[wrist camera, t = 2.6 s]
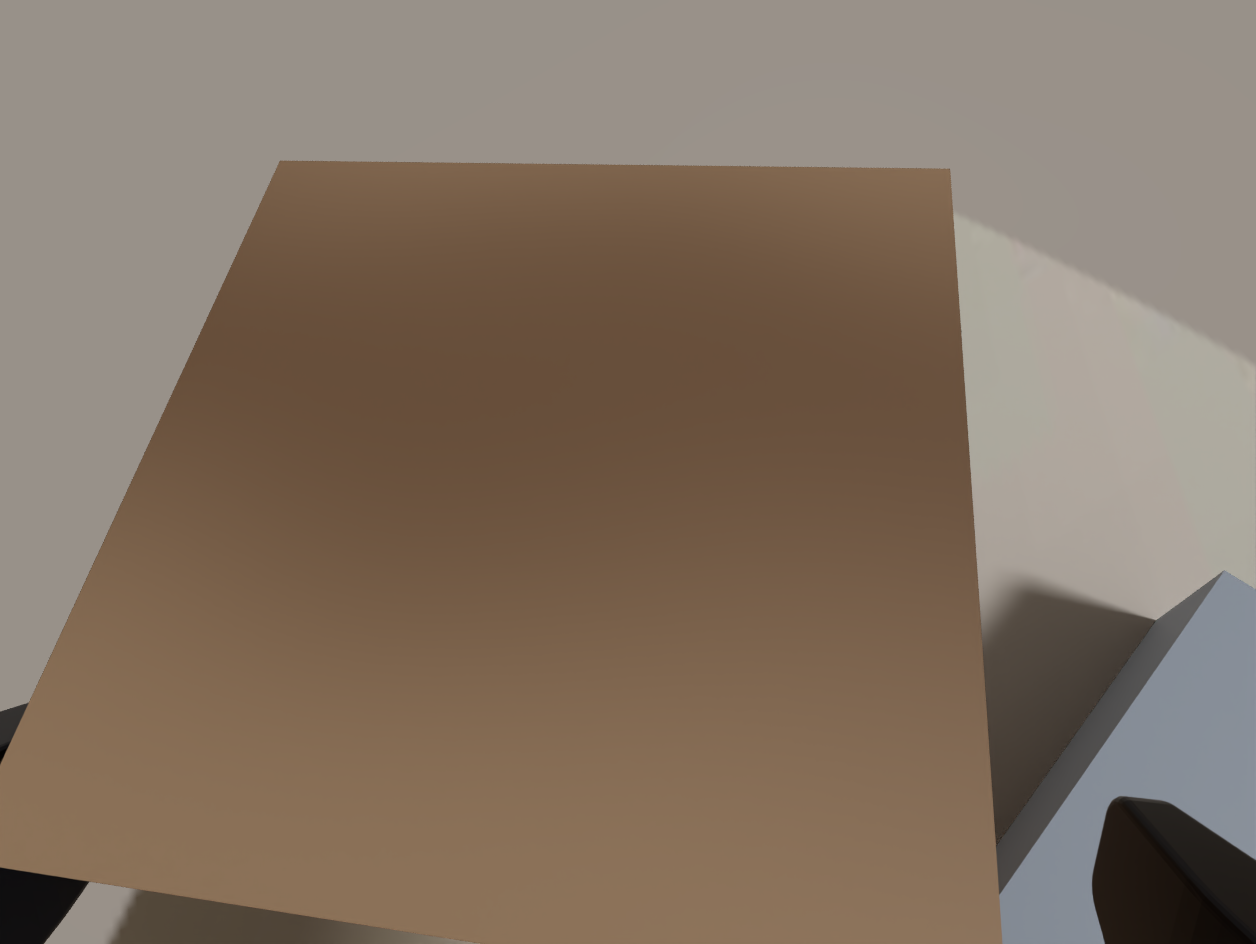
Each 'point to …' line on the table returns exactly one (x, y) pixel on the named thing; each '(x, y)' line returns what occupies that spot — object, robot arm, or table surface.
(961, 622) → the walnut block
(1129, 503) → the table surface
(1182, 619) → the slate base block
